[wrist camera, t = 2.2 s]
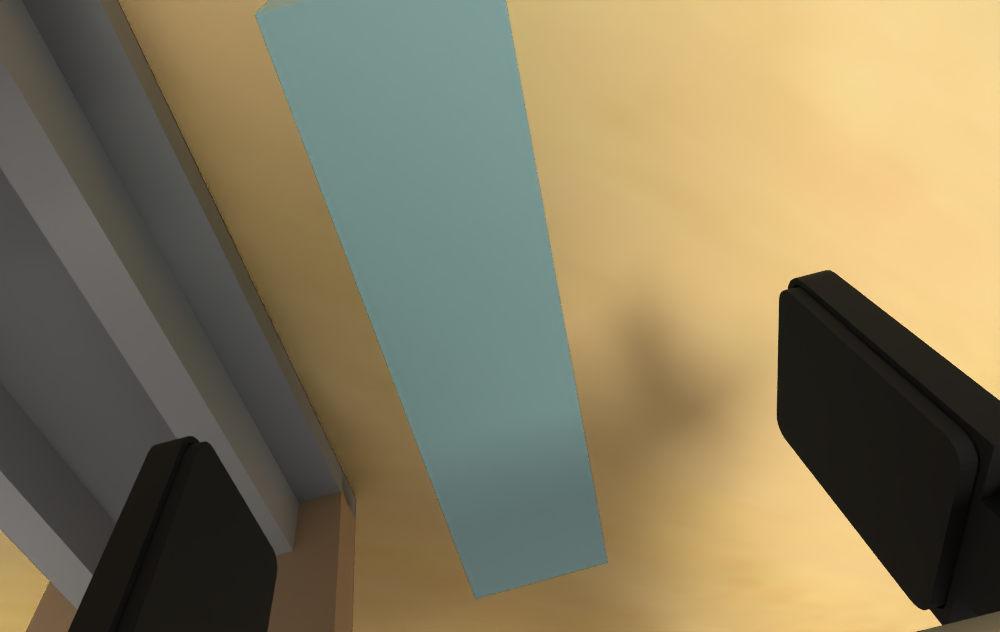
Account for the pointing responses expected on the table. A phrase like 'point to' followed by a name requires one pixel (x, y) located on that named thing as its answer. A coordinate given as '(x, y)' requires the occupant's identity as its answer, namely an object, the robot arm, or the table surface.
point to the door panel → (450, 263)
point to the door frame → (136, 326)
